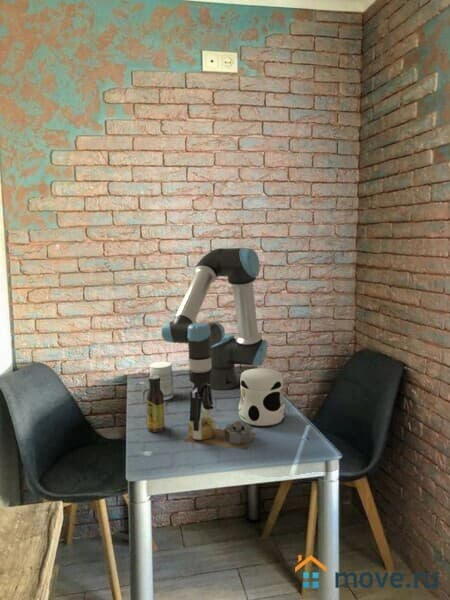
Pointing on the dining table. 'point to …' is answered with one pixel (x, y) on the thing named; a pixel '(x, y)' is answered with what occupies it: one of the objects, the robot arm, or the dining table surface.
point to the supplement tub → (164, 377)
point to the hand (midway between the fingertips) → (202, 432)
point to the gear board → (219, 437)
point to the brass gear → (204, 428)
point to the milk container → (261, 397)
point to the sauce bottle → (155, 405)
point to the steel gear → (238, 434)
